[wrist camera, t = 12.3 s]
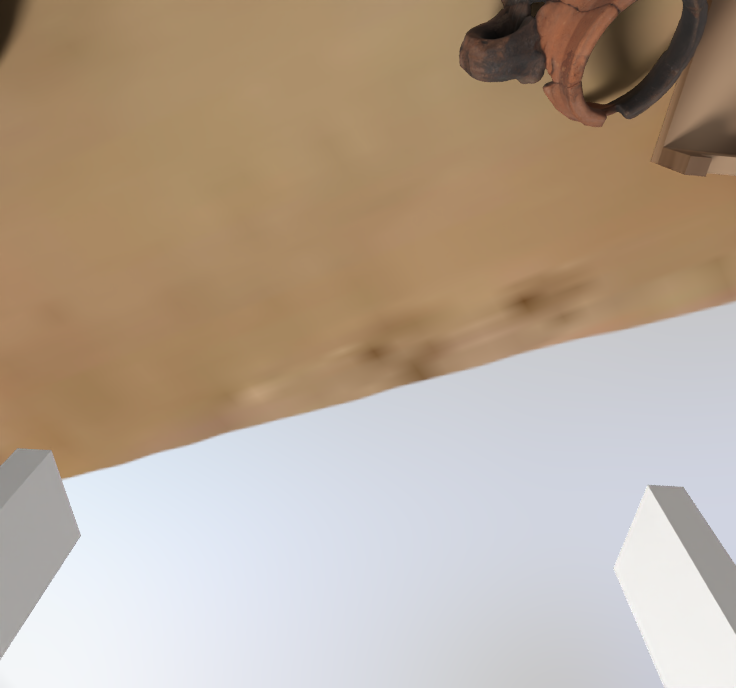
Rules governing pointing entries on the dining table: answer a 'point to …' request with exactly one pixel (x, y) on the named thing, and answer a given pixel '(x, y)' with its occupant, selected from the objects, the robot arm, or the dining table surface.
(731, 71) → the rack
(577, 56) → the pottery mug
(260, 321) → the dining table surface
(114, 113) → the dining table surface
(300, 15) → the dining table surface
